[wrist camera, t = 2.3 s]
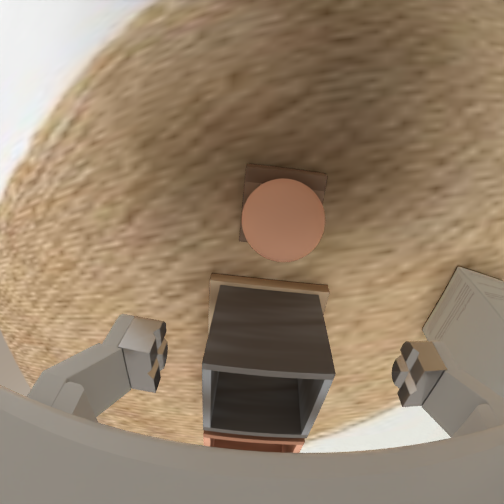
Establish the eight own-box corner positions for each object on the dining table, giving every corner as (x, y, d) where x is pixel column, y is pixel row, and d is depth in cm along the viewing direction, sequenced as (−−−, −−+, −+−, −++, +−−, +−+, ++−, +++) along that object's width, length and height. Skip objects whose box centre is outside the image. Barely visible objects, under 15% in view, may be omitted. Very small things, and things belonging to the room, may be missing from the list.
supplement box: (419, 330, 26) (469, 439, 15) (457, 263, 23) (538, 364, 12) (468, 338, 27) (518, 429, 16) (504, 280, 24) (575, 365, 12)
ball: (248, 166, 20) (242, 186, 16) (324, 176, 20) (340, 198, 16) (241, 236, 22) (234, 272, 18) (311, 244, 22) (322, 281, 18)
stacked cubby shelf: (211, 273, 24) (187, 357, 16) (327, 285, 24) (350, 371, 16) (208, 398, 32) (196, 470, 24) (291, 406, 32) (294, 478, 24)
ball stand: (247, 163, 20) (246, 166, 20) (324, 173, 21) (327, 176, 20) (240, 235, 23) (239, 241, 22) (312, 243, 23) (313, 249, 22)
